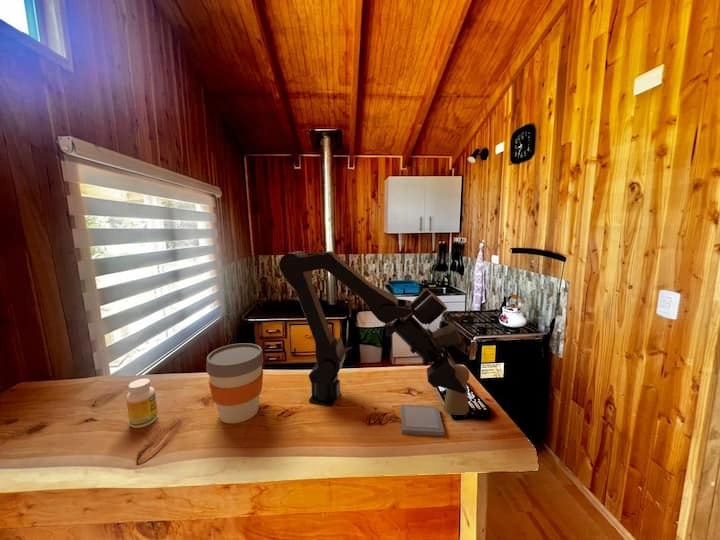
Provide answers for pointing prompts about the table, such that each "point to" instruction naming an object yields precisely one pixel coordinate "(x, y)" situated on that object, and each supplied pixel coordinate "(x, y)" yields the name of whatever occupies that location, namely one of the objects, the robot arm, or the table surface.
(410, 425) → the coaster
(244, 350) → the reusable coffee cup
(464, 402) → the cork
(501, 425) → the table surface
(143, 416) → the supplement bottle
